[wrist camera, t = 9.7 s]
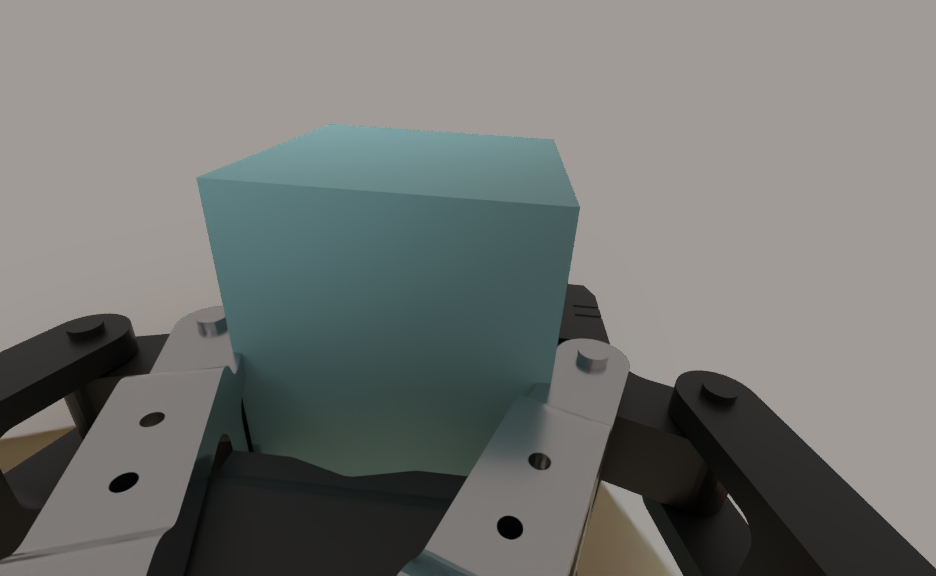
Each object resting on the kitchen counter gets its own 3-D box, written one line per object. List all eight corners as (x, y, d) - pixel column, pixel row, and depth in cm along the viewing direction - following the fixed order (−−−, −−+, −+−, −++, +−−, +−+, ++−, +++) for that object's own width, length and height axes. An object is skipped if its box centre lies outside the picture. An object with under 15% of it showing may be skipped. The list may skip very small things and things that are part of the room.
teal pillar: (287, 616, 11) (196, 177, 6) (354, 451, 15) (330, 123, 11) (507, 646, 10) (579, 207, 6) (511, 468, 15) (553, 139, 10)
